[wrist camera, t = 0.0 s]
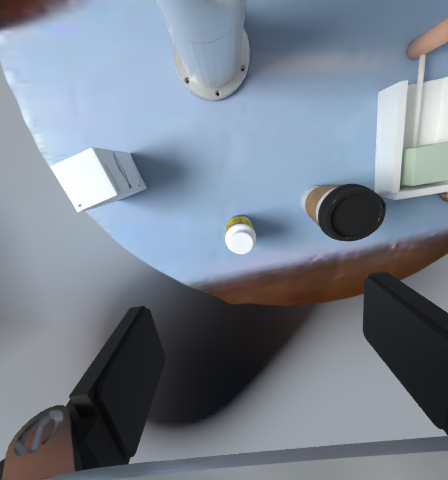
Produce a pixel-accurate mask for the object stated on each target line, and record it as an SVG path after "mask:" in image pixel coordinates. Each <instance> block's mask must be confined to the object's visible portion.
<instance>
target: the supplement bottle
mask: <svg viewBox="0 0 448 480" xmlns="http://www.w3.org/2000/svg"><path fill="white" fill-rule="evenodd" d="M225 240H226V244H227V246H228V248H229V249H230V250H231V251H233V252H235V253H237V254H246V253H248V252H249V251H250V250H251V249H252V248H253V247H254V246H255V244H256V233H255V231H254V228H253V225H252V223H251V221H250V220H249V219H248V218H247V217H245V216H242V215H237V216H234V217H232V218H231V219H230V220H229V221H228V223H227V225H226V237H225Z"/></svg>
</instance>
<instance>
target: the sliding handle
mask: <svg viewBox="0 0 448 480" xmlns="http://www.w3.org/2000/svg"><path fill="white" fill-rule="evenodd" d="M447 42H448V17H447V18H446V19H445V20H443V21H442V22H440V23H439V24H437V25H436V26H434V27H433V28H431V29H430V30H428V31H427V32H425V33H424V34H422V35H421V36H419V37H418V38H416V39H415V40H414V41H412V42H411V43H410V44H409V46H408V49H407V56H408V57H409V59H411V60H416V59H418V58H419V66H418V77H417V89H416V100H415V111H414V122H413V134H412V145H411V147H409V148H404V149H403V151H402V164H401V177H400V185H409V186H415V185H421V184H427V183H433V182H439V181H445V180H448V142H442V143H433V144H426V145H420V146H417V143H418V133H419V123H420V112H421V102H422V92H423V81H424V71H425V61H426V54H427V53H429V52H431V51H432V50H434V49H436V48H438V47H439V46H441V45H443V44H445V43H447Z"/></svg>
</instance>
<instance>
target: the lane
mask: <svg viewBox="0 0 448 480" xmlns="http://www.w3.org/2000/svg"><path fill="white" fill-rule="evenodd" d="M416 89H417V83H416V84H411V85H408V80H406V81H401V82H398V83H396V84H394V85H392V86H390V87H388V88H386V89H384V90H382V91H380V92H378V113H377V137H376V161H375V185H374V192H376V193H377V194H378V195H379V196H380V197H383V198H388V199H393V200H399V199H406V198H412V197H418V196H424V195H430V194H436V193H442V192H448V180H445V181H439V182H433V183H427V184H421V185H415V186H409V185H400V177H401V164H402V151H403V149H404V148H409V147H411V145H412V134H413V122H414V111H415V100H416ZM442 142H448V76H447V77H445V78H441V79H436V80H431V81H426V82H423V92H422V102H421V112H420V123H419V133H418V143H417V146H420V145H426V144H433V143H442Z"/></svg>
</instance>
